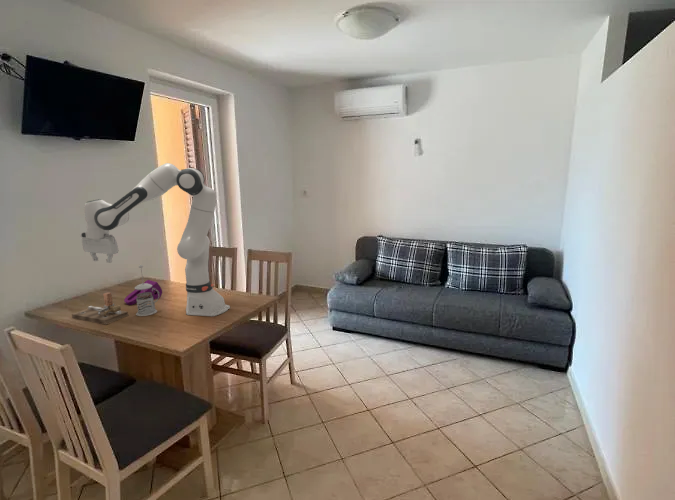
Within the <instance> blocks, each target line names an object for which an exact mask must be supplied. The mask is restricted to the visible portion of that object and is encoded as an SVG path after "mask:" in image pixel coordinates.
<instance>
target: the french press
mask: <svg viewBox="0 0 675 500" xmlns="http://www.w3.org/2000/svg"><path fill="white" fill-rule="evenodd" d="M143 267H144V265H143V264H139V266H138V268H139V269H140V272H141V274H143V272H142V269H143ZM141 279H142V281H141V282H142V283H140V284H137V285H136V286H134V290H135V289H136V290H145V289H149V288H151V287H152V285H151V284H147V283H144V278H143V276H141ZM154 290H155V288H154ZM152 291H153V288H152ZM156 291H157V292H158V296H159V291H158V290H157V289H156ZM149 297H151V298H149ZM159 299H160V297H158V299H153V295H152V293H151V292H145V293H140V294H137V298H136V300H137V303H136V305H137V312H136V313H135V315H136V316H137V317H138V316H139V317H145V316H151V315H154V314H156V313H158V310H157V309H156V305H155V303H156V302H158V300H159Z"/></svg>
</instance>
